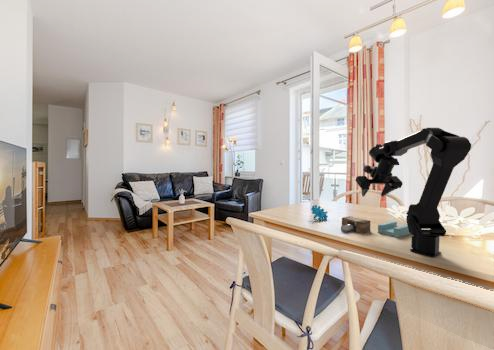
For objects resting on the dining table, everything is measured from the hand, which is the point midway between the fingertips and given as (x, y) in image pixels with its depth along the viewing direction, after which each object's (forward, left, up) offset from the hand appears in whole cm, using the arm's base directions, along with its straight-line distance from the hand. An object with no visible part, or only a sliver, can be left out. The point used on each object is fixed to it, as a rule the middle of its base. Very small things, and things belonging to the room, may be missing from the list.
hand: (372, 195), depth 106 cm
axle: (+2, +13, -15) cm, 20 cm away
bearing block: (+2, +10, -15) cm, 18 cm away
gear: (+23, +10, -15) cm, 29 cm away
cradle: (-10, 0, -15) cm, 18 cm away
